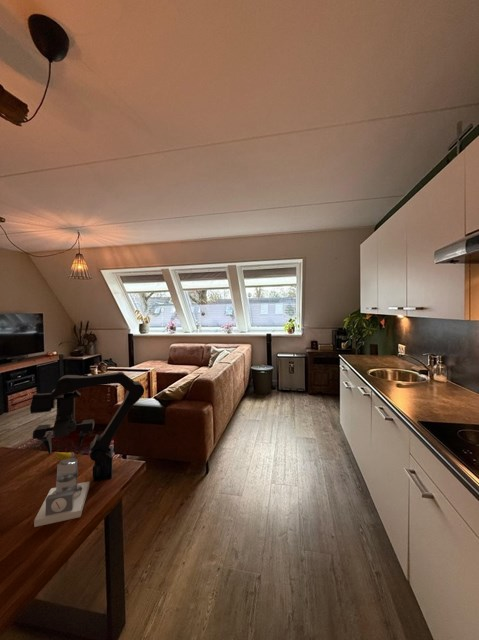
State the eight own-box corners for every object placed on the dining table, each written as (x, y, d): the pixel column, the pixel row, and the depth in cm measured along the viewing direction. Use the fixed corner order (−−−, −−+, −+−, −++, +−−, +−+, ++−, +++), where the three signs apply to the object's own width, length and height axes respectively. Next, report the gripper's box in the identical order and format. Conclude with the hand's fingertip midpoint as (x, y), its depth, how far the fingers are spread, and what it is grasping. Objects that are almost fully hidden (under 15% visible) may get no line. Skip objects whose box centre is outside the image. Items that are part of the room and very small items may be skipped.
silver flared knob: (79, 470, 94) (79, 456, 94) (75, 480, 88) (76, 465, 88) (59, 474, 91) (59, 459, 91) (54, 484, 86) (54, 468, 86)
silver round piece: (78, 485, 93) (78, 471, 93) (74, 495, 88) (74, 480, 88) (58, 488, 91) (59, 474, 91) (53, 499, 86) (53, 484, 86)
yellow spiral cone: (76, 466, 112) (57, 456, 106) (66, 469, 113) (46, 460, 107) (81, 453, 116) (62, 444, 110) (71, 457, 117) (53, 448, 111)
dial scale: (89, 486, 97) (89, 467, 97) (80, 516, 82) (80, 494, 82) (51, 494, 93) (51, 474, 93) (34, 527, 78) (34, 503, 78)
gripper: (27, 420, 87) (26, 467, 87) (91, 413, 95) (90, 456, 94) (38, 409, 98) (37, 451, 97) (94, 404, 105) (94, 443, 105)
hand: (64, 451), depth 98 cm, fingers open, 9 cm apart
